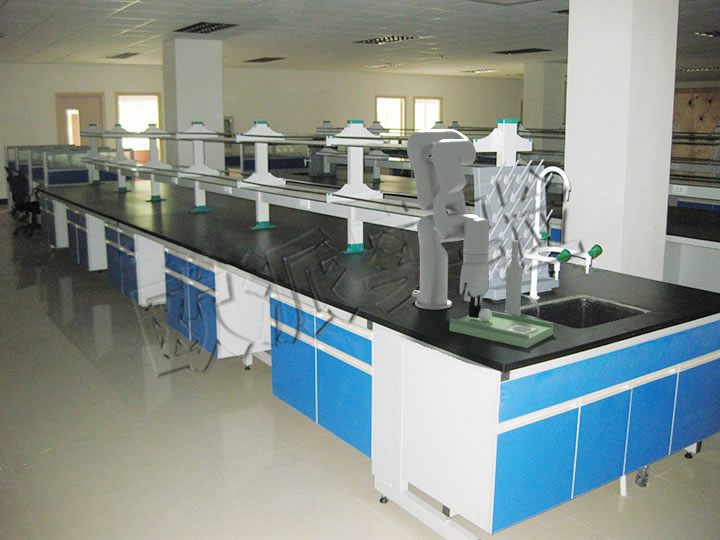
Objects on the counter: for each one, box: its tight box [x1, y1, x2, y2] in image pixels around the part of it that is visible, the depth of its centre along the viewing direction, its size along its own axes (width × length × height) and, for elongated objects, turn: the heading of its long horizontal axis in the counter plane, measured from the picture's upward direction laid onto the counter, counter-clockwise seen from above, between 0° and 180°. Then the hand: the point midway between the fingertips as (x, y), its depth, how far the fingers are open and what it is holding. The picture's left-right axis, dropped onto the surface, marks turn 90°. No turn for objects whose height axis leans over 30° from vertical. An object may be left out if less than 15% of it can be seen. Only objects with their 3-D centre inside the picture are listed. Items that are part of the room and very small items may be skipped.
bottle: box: [504, 239, 523, 316], centre depth 223 cm, size 5×5×25 cm
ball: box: [479, 308, 492, 322], centre depth 211 cm, size 4×4×4 cm
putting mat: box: [449, 308, 554, 349], centre depth 208 cm, size 26×16×4 cm, turn 49°
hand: (474, 316), depth 214 cm, fingers closed
